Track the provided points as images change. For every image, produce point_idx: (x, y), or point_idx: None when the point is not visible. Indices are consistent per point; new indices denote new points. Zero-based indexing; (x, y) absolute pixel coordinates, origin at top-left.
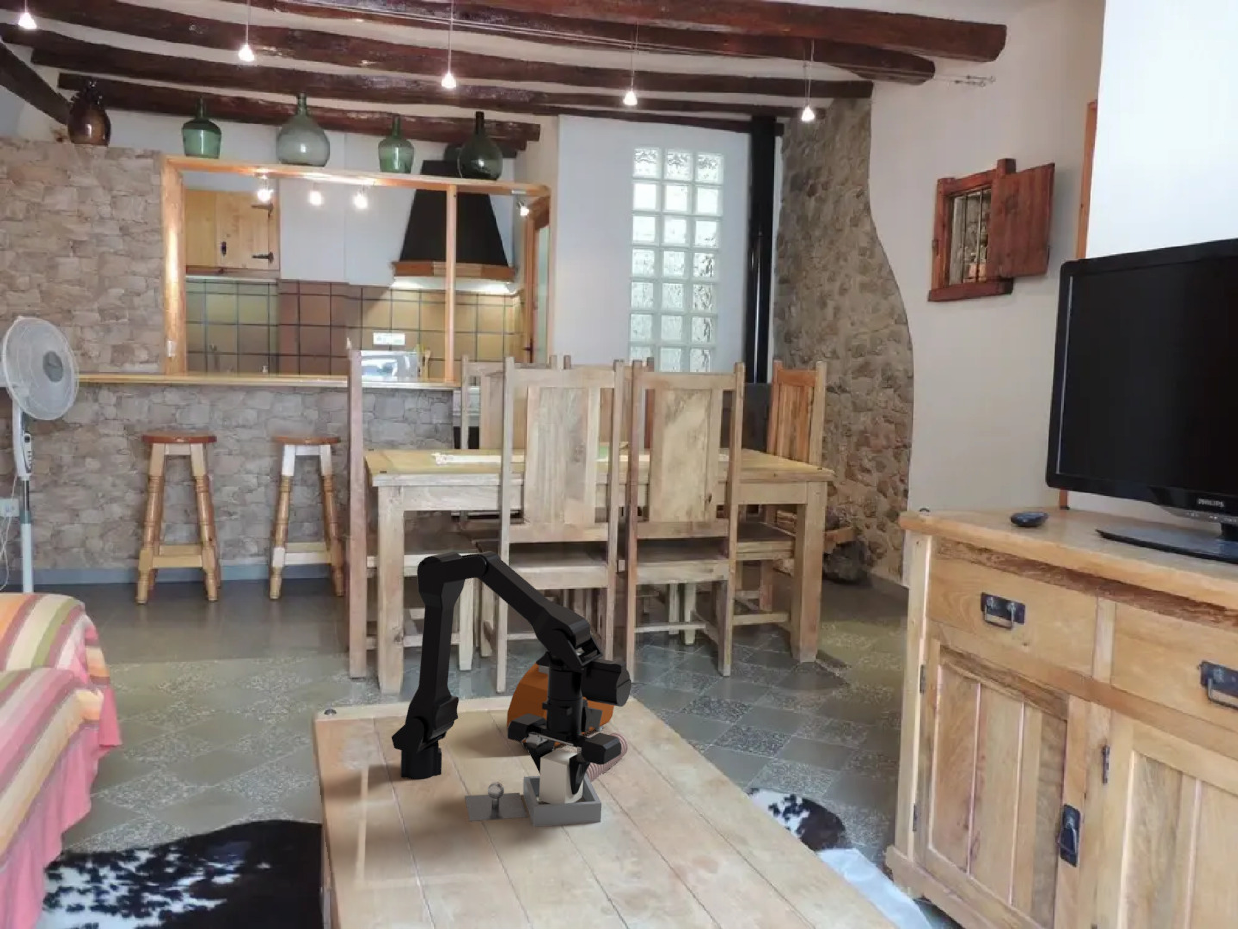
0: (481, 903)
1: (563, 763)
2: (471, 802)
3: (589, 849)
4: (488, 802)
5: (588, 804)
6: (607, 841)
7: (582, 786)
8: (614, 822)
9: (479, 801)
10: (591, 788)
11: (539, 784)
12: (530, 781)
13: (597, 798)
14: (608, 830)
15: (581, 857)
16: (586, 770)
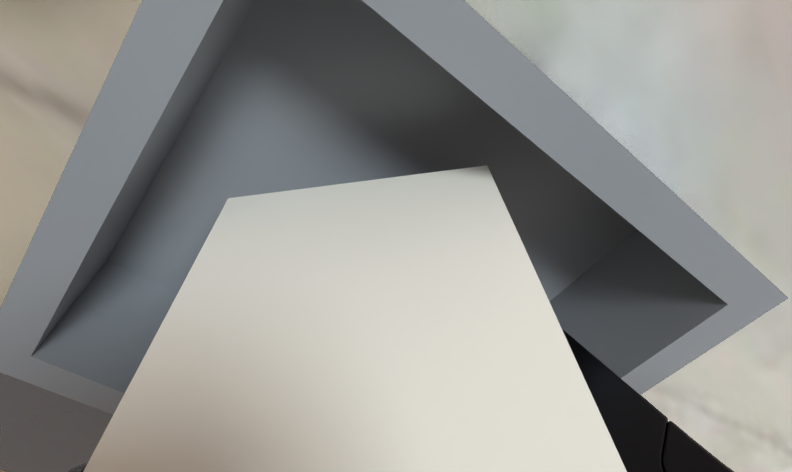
0: None
1: None
2: (30, 465)
3: (709, 364)
4: (70, 427)
5: (693, 358)
6: (769, 273)
7: (510, 218)
8: (737, 76)
9: (37, 443)
10: (585, 153)
11: (92, 263)
12: (49, 330)
13: (728, 264)
14: (734, 185)
15: (702, 415)
16: (714, 466)
